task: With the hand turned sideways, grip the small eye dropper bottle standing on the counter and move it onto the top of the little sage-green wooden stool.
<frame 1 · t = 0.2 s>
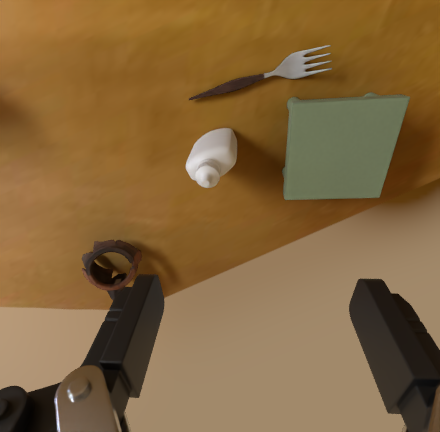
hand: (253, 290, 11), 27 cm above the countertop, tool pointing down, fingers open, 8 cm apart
pottery mug: (119, 256, 47), on the countertop
stool: (324, 138, 33), on the countertop
fork: (254, 78, 30), on the countertop
eye dropper bottle: (215, 142, 35), on the countertop
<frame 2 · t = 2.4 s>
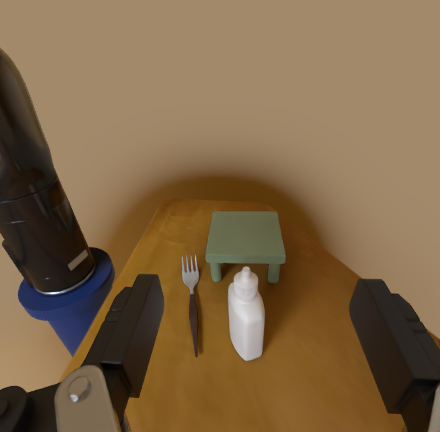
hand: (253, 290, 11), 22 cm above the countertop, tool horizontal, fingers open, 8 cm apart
stool: (244, 259, 44), on the countertop
fork: (193, 304, 37), on the countertop
eye dropper bottle: (245, 339, 32), on the countertop
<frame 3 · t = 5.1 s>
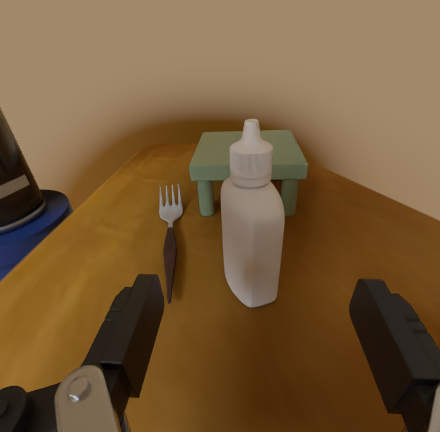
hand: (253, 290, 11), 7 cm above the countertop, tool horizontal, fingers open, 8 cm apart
stool: (246, 193, 32), on the countertop
fork: (171, 240, 25), on the countertop
eye dropper bottle: (248, 281, 21), on the countertop
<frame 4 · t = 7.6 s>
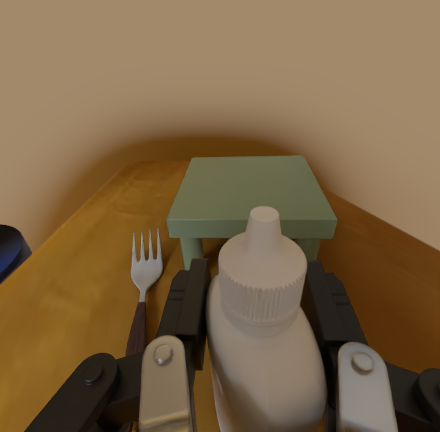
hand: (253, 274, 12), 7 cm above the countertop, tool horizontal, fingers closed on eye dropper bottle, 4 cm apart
stool: (247, 238, 25), on the countertop
fork: (142, 323, 18), on the countertop
eye dropper bottle: (251, 416, 13), on the countertop, touching gripper
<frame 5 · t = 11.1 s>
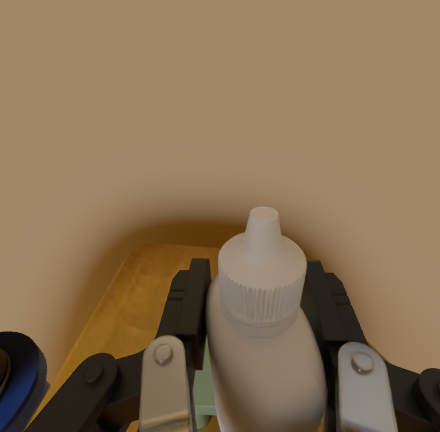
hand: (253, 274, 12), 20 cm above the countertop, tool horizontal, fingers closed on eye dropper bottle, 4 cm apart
stool: (247, 370, 27), on the countertop
eye dropper bottle: (252, 416, 13), point 13 cm above the countertop, touching gripper
when the fingers open (13 cm above the countertop, at t = 14.6 s): eye dropper bottle stays where it is, resting on stool.
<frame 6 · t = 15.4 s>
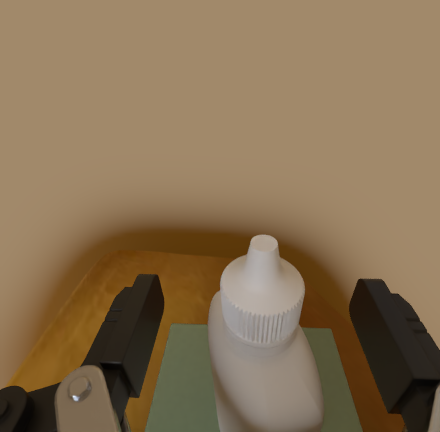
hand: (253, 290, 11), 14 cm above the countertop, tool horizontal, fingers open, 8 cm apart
eye dropper bottle: (252, 425, 14), point 6 cm above the countertop, touching stool
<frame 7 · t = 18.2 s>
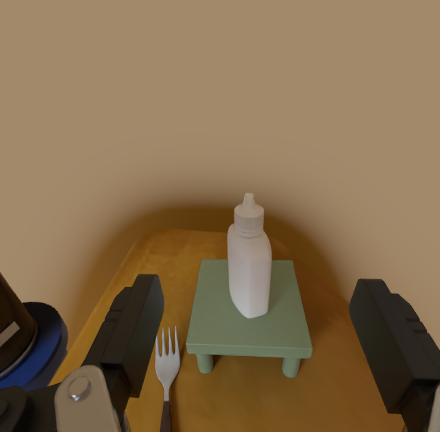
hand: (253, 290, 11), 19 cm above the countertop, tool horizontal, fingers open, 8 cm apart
stool: (246, 330, 31), on the countertop
fork: (167, 418, 24), on the countertop
eye dropper bottle: (247, 297, 27), point 6 cm above the countertop, touching stool
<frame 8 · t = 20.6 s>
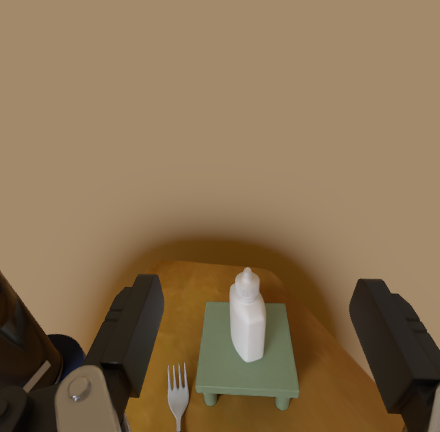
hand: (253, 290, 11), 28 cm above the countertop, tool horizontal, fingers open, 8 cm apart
stool: (245, 364, 36), on the countertop
eye dropper bottle: (246, 341, 32), point 6 cm above the countertop, touching stool
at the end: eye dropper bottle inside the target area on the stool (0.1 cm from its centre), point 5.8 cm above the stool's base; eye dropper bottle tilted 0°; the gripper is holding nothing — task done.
